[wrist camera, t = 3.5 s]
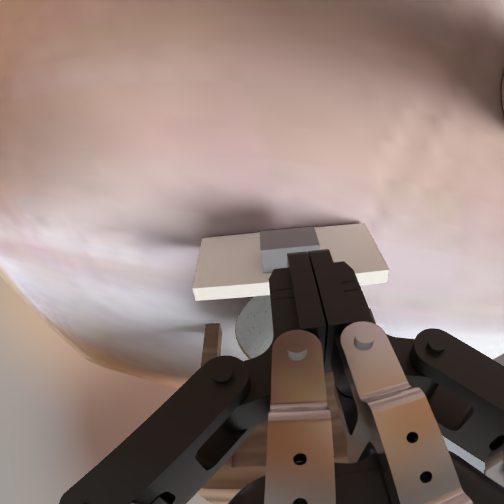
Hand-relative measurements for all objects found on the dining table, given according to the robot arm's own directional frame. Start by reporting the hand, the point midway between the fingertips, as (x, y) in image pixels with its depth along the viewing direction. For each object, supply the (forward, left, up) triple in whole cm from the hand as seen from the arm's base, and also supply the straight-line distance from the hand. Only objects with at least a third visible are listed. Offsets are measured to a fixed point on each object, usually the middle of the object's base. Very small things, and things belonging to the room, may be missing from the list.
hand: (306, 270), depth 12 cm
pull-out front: (+7, 0, -14) cm, 16 cm away
